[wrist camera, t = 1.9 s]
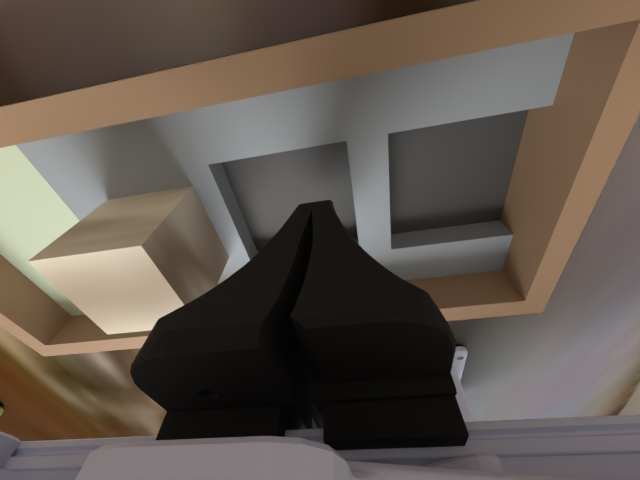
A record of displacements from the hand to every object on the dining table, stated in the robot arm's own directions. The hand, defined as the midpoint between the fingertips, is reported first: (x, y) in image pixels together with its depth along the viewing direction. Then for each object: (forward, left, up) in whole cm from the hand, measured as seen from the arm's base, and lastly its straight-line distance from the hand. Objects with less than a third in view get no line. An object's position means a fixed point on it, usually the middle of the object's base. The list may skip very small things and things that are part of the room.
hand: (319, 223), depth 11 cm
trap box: (0, +4, -3) cm, 5 cm away
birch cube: (0, +7, -1) cm, 7 cm away
